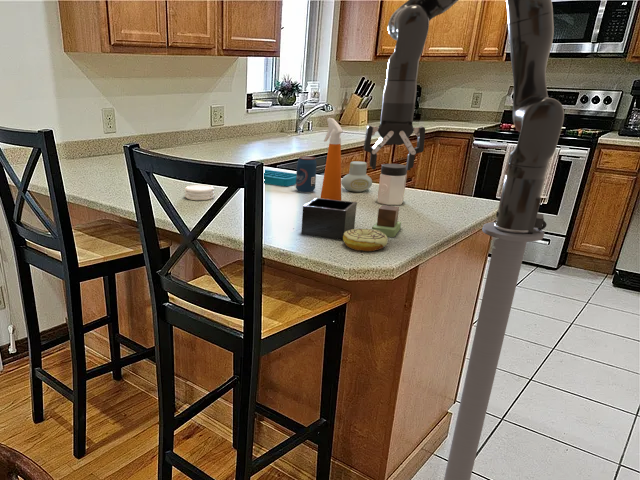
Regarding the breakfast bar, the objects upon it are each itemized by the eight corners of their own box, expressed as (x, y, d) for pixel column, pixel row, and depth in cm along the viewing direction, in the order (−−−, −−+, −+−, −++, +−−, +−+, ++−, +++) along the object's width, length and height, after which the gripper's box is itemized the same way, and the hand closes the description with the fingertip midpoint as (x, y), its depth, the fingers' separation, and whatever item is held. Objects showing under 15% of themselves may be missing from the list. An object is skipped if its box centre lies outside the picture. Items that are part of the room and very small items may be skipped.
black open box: (354, 230, 144) (356, 202, 141) (343, 240, 136) (346, 210, 133) (314, 224, 149) (315, 197, 146) (301, 234, 140) (302, 205, 137)
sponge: (378, 226, 148) (379, 219, 148) (400, 228, 146) (401, 221, 145) (371, 234, 141) (372, 227, 140) (393, 237, 139) (394, 230, 138)
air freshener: (367, 188, 195) (370, 160, 191) (373, 192, 188) (376, 164, 184) (338, 188, 195) (341, 160, 191) (343, 192, 187) (346, 164, 183)
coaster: (216, 200, 176) (216, 189, 175) (187, 201, 174) (187, 191, 173) (211, 193, 185) (210, 183, 184) (183, 195, 183) (182, 184, 182)
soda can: (291, 191, 190) (293, 157, 185) (304, 188, 194) (306, 155, 189) (306, 194, 185) (308, 159, 180) (318, 191, 189) (321, 157, 184)
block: (397, 223, 144) (399, 206, 142) (393, 227, 140) (396, 210, 138) (380, 221, 145) (382, 205, 144) (376, 225, 142) (378, 208, 140)
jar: (371, 201, 176) (375, 165, 171) (387, 198, 180) (391, 162, 175) (392, 206, 169) (397, 169, 164) (408, 203, 173) (414, 166, 168)
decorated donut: (393, 251, 128) (395, 236, 126) (352, 254, 126) (354, 239, 124) (375, 238, 137) (376, 225, 135) (336, 241, 135) (337, 227, 133)
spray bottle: (330, 197, 181) (336, 116, 171) (345, 204, 172) (352, 119, 161) (311, 198, 179) (316, 117, 169) (325, 205, 170) (331, 120, 159)
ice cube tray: (286, 187, 195) (287, 179, 194) (244, 180, 207) (244, 172, 206) (303, 182, 204) (303, 174, 203) (261, 176, 215) (261, 168, 214)
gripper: (370, 101, 123) (363, 171, 129) (433, 102, 122) (422, 172, 128) (367, 99, 130) (360, 166, 136) (426, 100, 128) (416, 167, 135)
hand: (390, 169), depth 132 cm, fingers open, 8 cm apart
